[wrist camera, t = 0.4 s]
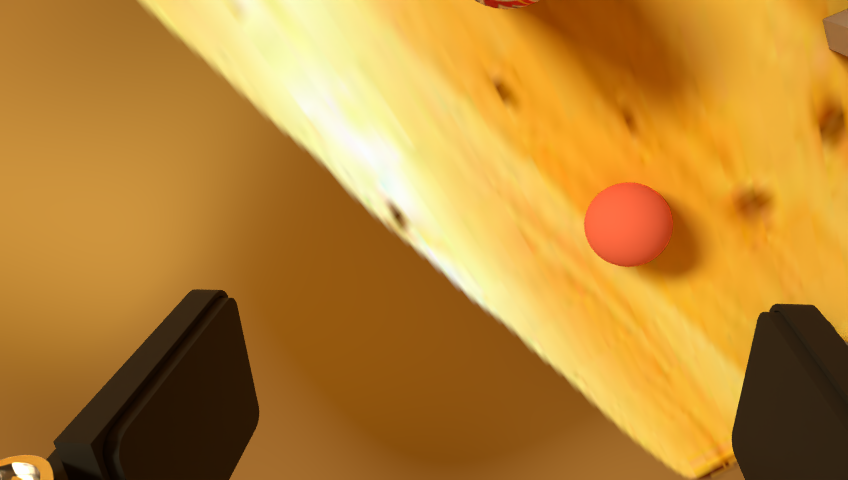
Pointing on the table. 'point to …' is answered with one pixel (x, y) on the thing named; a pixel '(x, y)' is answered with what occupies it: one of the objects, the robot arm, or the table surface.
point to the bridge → (837, 32)
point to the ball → (628, 224)
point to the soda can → (506, 3)
